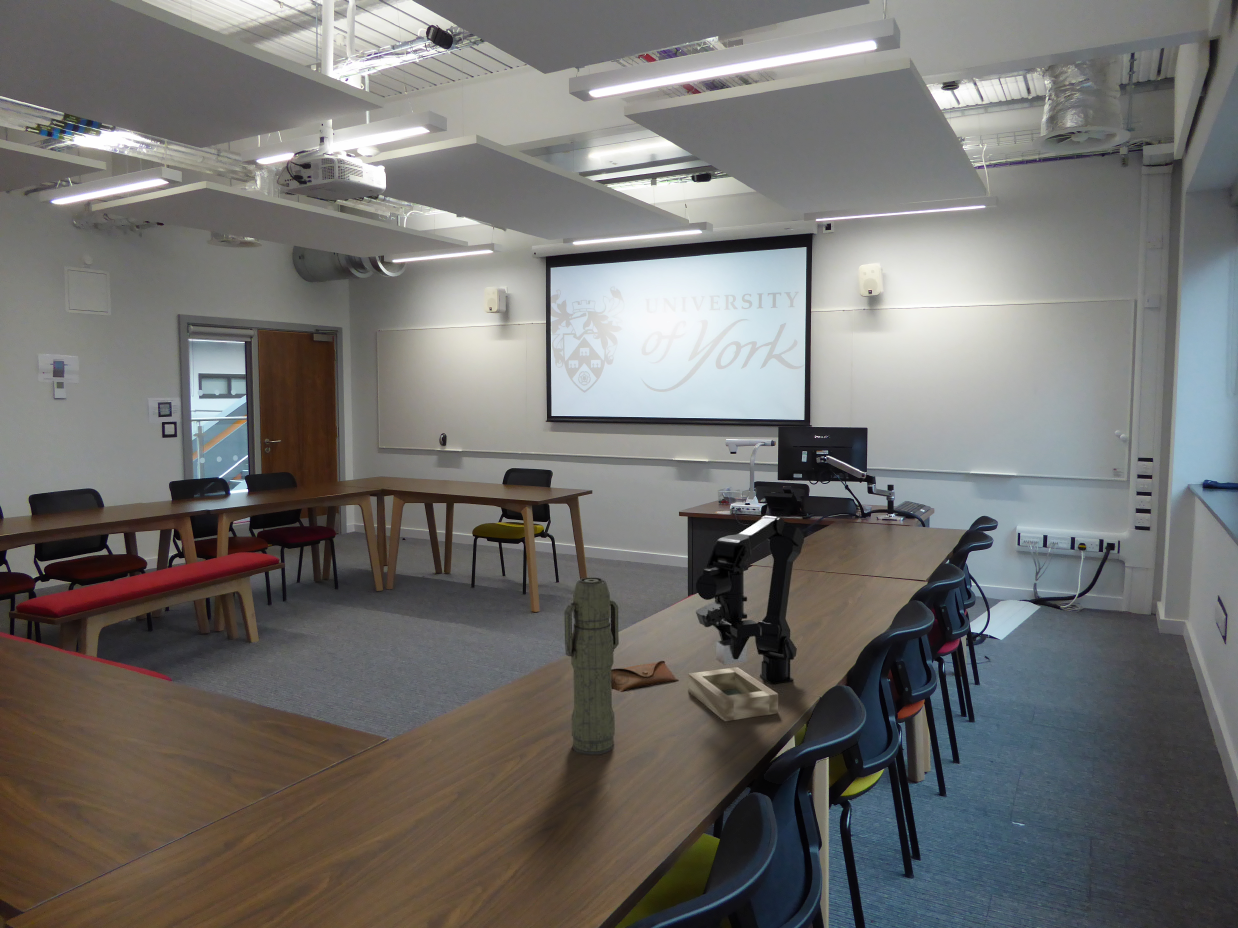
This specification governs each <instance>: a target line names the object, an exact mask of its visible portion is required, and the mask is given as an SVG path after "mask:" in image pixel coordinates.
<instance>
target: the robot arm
mask: <svg viewBox="0 0 1238 928" xmlns="http://www.w3.org/2000/svg"><path fill="white" fill-rule="evenodd" d="M765 541H768V548H769V552H770V554H771V556H772V559H773V562H772V563H773V564H772V569H771V578H770V585H769V592H768V600H767V608H766V612H765V613H766V614H765V616H764V617H763V619H762V620H761V621H760V620H758V622H756V621H754V620H752V619H748V614H747V613H746V612H745V609H744V608H745V607H744V603H745V602H748V597H747V596H745V595H744V592H745V591H744V590H745V589H744V588H745V586H744V585H745V583H744V582H745V578H744V575H745V573H744V572H746V571H748V570H749V567H748V566H747V565H746V564H745V563H746V562H747V561H748V559H750V558H751V556H752V551H753V550H754V549H755V548H757V547H758V546H759V545H761V544H762V543H764V542H765ZM804 543H805V536H804V533H803V532H802V530H801V529H800V528H799V527H797V526H795V525H794V524H792V523H789V522H788V521H785V519H783V518H782V517H780V516H773V515H764V516H762V517H761V518H760V519H759V520H758V521H756V522H755V523H753V524H752V525H751V526H749V527H746V529H744V530H743V531H741V532H739V533H736V534H731V535H726V536H723V537H720V538H718V539H717V540H716V542H715V544H714V547H713V549H712V552H711V554H710V556H709V558H708V562H707V565H706V568H704V569H703V570H702V575H700V576H699V577H698V579H696V580H697V581H696V583H695V589H696V592H697V594H698V596H700V598H701V599H703V600H706V601H707V600H713V599H714V602H711V603H707V604H705V605H704V606H702V607H699V608H698V609H696V610H695V615H696V617H697V619H698V622H699V624H700V625H703V627H704V628H710V627H713V628H715V630H717V632H718V635H719V637H720V641H722V640H730V639H731V644H732V653H733V659H735V660H736V659H738V658H739V656H740V654H741V652H742V650H743V648H744V646H745V644H746V643H747V642H748V641H749V639H750V638H751V637H754V643H755V646H756V651H757V654H758V655H761V656H762V660H761V673H760V674H759V677H760V678H761V679H763V680H764V681H766V682H768V683H770V684H771V685H776V684H783V683H790V682H794V680H795V679H794V678H793V677H791V661H793V660H795V658H796V655H797V649H798V648H797V647H796V645H795V644H794V642H793V641H792V639H791V628H790V626H789V623H788V621H787V619H786V618H787V611H788V605H789V604H788V603H789V594H790V588H791V580H792V572H793V566H794V565H793V564H794V562H795V560H797V559H798V557H799V556H800V555H801V553H802V549H803V548H802V547H803V545H804ZM744 619H745V620H744ZM747 644H748V643H747Z"/></svg>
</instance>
